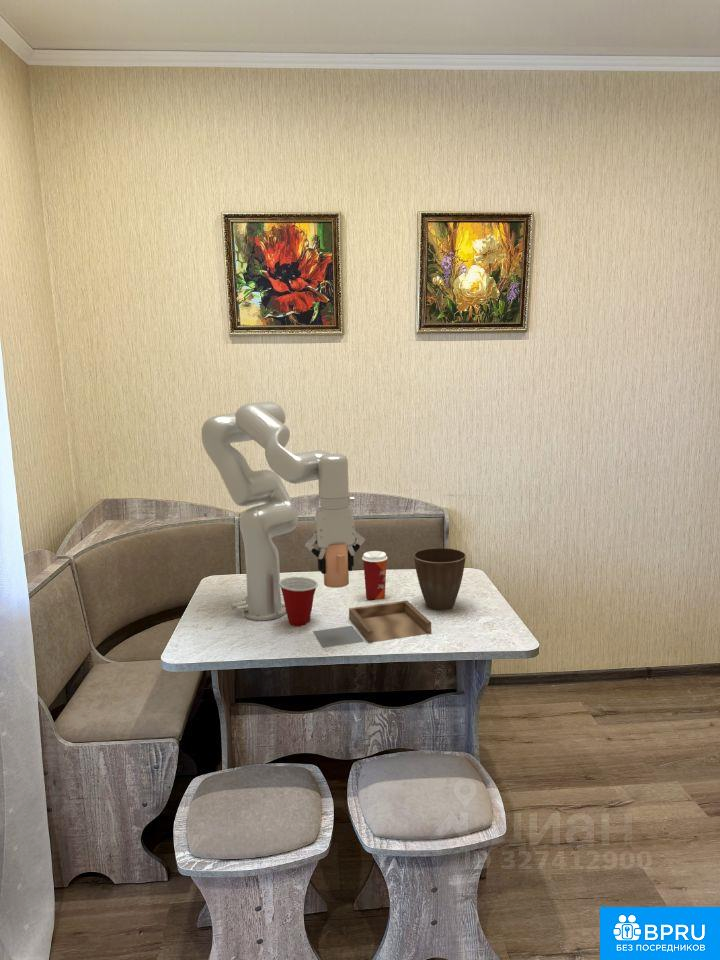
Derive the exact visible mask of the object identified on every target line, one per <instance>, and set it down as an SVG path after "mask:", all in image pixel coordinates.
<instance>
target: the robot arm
mask: <svg viewBox="0 0 720 960" xmlns="http://www.w3.org/2000/svg"><path fill="white" fill-rule="evenodd" d="M285 423H286V413H285V411H284V408H283V407H282V406H281V405H280V404H278V403H276V402H273V401H260V402H249V403H246V404H242V405H241V406H240V407H239V408H237V410H236V411H235V413H234V412H233V413H225V414H218V415H214V416H211V417H209V418H207V419H206V420H205V421H204V422H203V424H202V427H201V437H200V438H201V443H202V446H203V449H204V451H205V452H206V454H207V456H208V458H209V459H210V460H211V462H212V463H213V464H214V466H215V468H216V469H217V471H218V473H219V475H220V477H221V479H222V480H223V484H224V486H225V488H226V489H227V492H228V494H229V495H230V497H231V500H232V501H233V503H234V504H236V506H239V507H249V506H252V507H251V508H250V507H249V508H248V509H246V510H245V511H243V513H242V514H241V516H240V517H239V528H240V529H239V530H240V533H241V536H242V540H243V546H244V556H245V557H244V559H245V572H246V573H245V574H246V575H245V576H246V593H247V596H244V598H245V599H242V600H241V601H232V602H231V610H235V609H236V611H242V615H243V616H244V617H245V618H247V619H249V620H253V621H269V620H274V619H278V618H280V617H282V616H284V615H285V614H287V613H286V608H285V603H282V597H281V596H282V592H281V587H280V585H279V581H280V580H281V575H280V556H279V551H278V547H277V546H276V544H275V543H274V541H273V538H274V537H277V536H280V535H284V534H287V533H290V532H292V531H293V530H294V529H296V527H297V525H298V524H299V523H298V522H299V521H298V520H299V516H298V513H297V512H298V511H297V509H296V506H295V505H294V502H293V500H292V498H291V497H290V495H289V493H288V491H287V489H286V487H285V485H284V483H283V481H282V480H284V481H285V482H287V483H290V484H295V485H296V484H297V485H298V484H302V483H307V482H310V481H311V482H312V481H318V502H319V504H318V505H319V506H318V507H317V508H316V509H315V512H314V513H315V514H314V522H313V523H314V525H313V535H312V536H311V537H310V538H309V539H308V540H307V541H306V542H305V543H304V546H305V548H307V549H308V550H309V551H310V552H311V553H312V554H313V555H314V556H316V557H317V569H318V571H319V572H320V573H321V574H322V575H324V574H325V573H326V568H325V559H324V554H325V551H326V548H328V545H337V544H346V543H347V546H348V570H349V572H352V571H353V567H354V563H355V561H354V558H355V557H354V556H355V555H356V552H358V550H359V549H360V547H361V546H362V545H363V544H364V543H365V541H366V538H365V537H364V536H362V535H361V534H360V533H359V532H358V531H356V527H355V525H356V524H355V518H354V513H353V508H352V507H351V506H350V505H351V503H354V502H355V497H354V496H350V494H349V493H350V492H349V461H348V457H347V456H346V454H342V453H330V452H327V451H325V450H319V449H318V450H311V451H305V452H299V453H292V452H290V451H288V450H287V449H286V446H287V444H288V443H289V441H290V438H291V437H290V436H291V433H290V428H289V427H288V426H287V425H285ZM248 441H249V442H250V441H254V442H255V443H257V444H258V445H259V446H260V447H262V448H263V449H264V456H265V459H266V462H267V464H268V466H269V468H270V469H261V470H260V469H259V470H253V469H251V467H250V465H249V463H248V461H247V459H246V457H245V456H244V455H243V454H242V453H241V452H240V451H239V450H238V449H237V448H235V447H234V446H232V444H234V443H241V442H248ZM281 479H282V480H281ZM262 503H264V504H262ZM259 504H261V505H259ZM254 505H256V506H254ZM314 544H315V545H317V546H318V547H317V549H316V548H315V547H314V546H313V545H314Z"/></svg>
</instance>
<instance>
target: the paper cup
mask: <svg viewBox="0 0 720 960" xmlns="http://www.w3.org/2000/svg"><path fill="white" fill-rule="evenodd" d="M361 559H362V562H363V573H364V585H365V587H364V588H365V597H366V600H367V601H371V602H372V601H378V600H384V599H385V597H386V581H387V580H386V579H387V560H388V556H387V553H386V552H384V551H381V550H380V551H379V550H372V551H371V550H369V551H366V552H364V553H363V555H362V557H361Z"/></svg>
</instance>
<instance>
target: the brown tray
mask: <svg viewBox="0 0 720 960" xmlns="http://www.w3.org/2000/svg"><path fill="white" fill-rule="evenodd" d="M348 619H349V620H350V622H351V623H352V624H353V625H354V627H355V628H356V630H358V632H359V633H360V635H362V636H363V638H364V639H365V641H367V643H368V644H371V643H377V642H378V643H379V642H383V641H391V640H396V639H397V640H398V639H404V638H410V637H417V636H422V635H423V636H424V635H430V634H432V622H431V620H430V619H428V617H426V616H425V615H424V614H423V613H422V612H420V611H419V610H418V608H416V607H415V606H414V605H413V604H411V603H410V602H409V601H408V600H401V601H393V602H392V601H391V602H386V603H378V604H377V603H376V604H371V605H365V606H362V605H361V606H355V607H349V608H348Z"/></svg>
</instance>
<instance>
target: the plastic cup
mask: <svg viewBox="0 0 720 960" xmlns="http://www.w3.org/2000/svg"><path fill="white" fill-rule="evenodd" d="M318 583H319V582H318V581H317V580H315V579H313V578H310V577H306V576H290V577H285V578H282V579H280V581H279V585H280V591H281V596H282V598H283V602H284V603H283V604H284V605H285V608H286V613H285V614H286V617H287V621H288V623H289V625H290V626H292V627H304V626H307V624H308V623H309V622H310V621H311V615H312V612H313V611H312V610H313V604H314V598H315V597H314V596H315V593H316V589H317V587H319V584H318Z"/></svg>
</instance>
